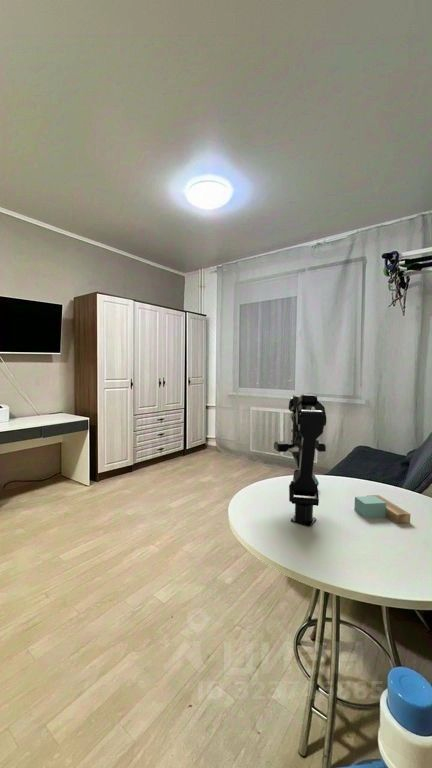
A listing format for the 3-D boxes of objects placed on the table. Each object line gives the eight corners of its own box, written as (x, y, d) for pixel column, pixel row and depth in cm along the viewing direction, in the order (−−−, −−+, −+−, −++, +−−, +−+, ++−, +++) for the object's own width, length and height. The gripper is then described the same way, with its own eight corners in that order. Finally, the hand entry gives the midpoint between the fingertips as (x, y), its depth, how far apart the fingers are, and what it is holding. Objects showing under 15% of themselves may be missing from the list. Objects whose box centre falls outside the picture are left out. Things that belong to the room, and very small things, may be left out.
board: (396, 523, 105) (396, 514, 105) (366, 503, 121) (366, 495, 121) (410, 522, 106) (410, 513, 106) (378, 502, 122) (378, 495, 122)
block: (364, 518, 109) (364, 503, 109) (354, 510, 115) (354, 496, 115) (385, 517, 110) (386, 502, 110) (374, 509, 116) (375, 496, 116)
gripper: (283, 432, 113) (281, 476, 114) (333, 432, 115) (331, 475, 116) (274, 426, 124) (272, 466, 125) (320, 426, 126) (318, 465, 127)
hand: (298, 468), depth 123 cm, fingers closed
